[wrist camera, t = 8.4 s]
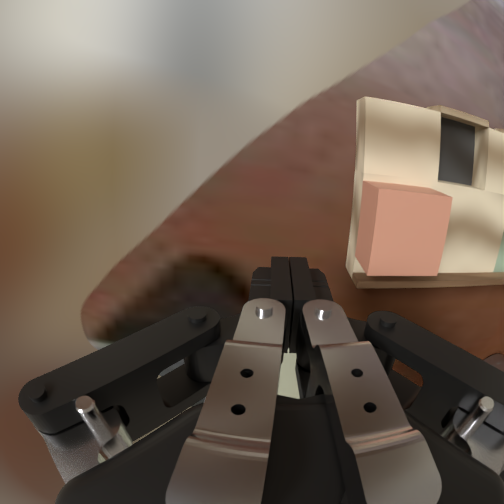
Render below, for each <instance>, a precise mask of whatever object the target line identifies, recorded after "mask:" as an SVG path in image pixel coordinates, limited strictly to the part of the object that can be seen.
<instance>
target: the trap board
mask: <svg viewBox="0 0 504 504" xmlns="http://www.w3.org/2000/svg"><path fill="white" fill-rule="evenodd" d="M363 181H374V182H384V183H394V184H403V185H411V186H419V187H427V188H431V189H434V190H436V191H439V192H441V193H444V194H446V195H448V196H451V197H453V198H452V206H451V212H450V218H449V224H448V230H447V235H446V240H445V245H444V249H443V254H442V258H441V262H440V266H439V270H438V274H437V276H367V275H366V273H365V271H364V270H363V268H362V267H361V265H360V263H359V262H358V260H357V259H356V257H355V251H356V244H357V236H358V227H359V218H360V208H361V198H362V185H363ZM346 268H347V270H348V272H349V274H350V276H351V278H352V280H353V282H354V284H355V286H356V288H429V287H460V286H483V285H501V284H504V129H495V130H494V129H491V128H489V121H487V120H484V119H482V118H479V117H476V116H473V115H470V114H467V113H464V112H461V111H458V110H455V109H452V108H448V107H445V106H442V105H439V106H431V107H427V109H426V108H422V107H418V106H414V105H409V104H404V103H399V102H394V101H389V100H383V99H377V98H371V97H363V98H361V99H359V100H357V125H356V159H355V178H354V192H353V205H352V216H351V226H350V235H349V244H348V252H347V260H346Z"/></svg>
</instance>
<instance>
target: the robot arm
mask: <svg viewBox="0 0 504 504" xmlns="http://www.w3.org/2000/svg"><path fill="white" fill-rule="evenodd" d="M288 343H289V353H296V365H295V372H296V378H297V384H298V390H299V397H300V399H297V398H291V397H287V396H282V395H278V387H279V378H280V369H281V364H282V362H283V357H284V353H288ZM182 359H184V364H183V365H181V366H180V367H178V368H176V369H174V370H173V371H171V372H169V373H167V374H166V375H164V376H162V377H160V378H158V379H157V377H158V375H159V374H160V373H161V372H162V371H163V370H164V369H166V368H168V367H169V366H171V365H173V364H175V363H177V362H178V361H180V360H182ZM395 359H397V360H399V361H401V362H402V363H404V364H405V365H407V366H409V367H410V368H412V369H414V370H415V371H417V372H418V373H420V374H421V376H422V377H423V386H422V387H419V386H418V385H416V384H414V383H413V382H411V381H410V380H408V379H407V378H405V377H403V376H402V375H400V374H399V373H397V372H395V371H394V370H392V366H393V364H394V361H395ZM204 397H206V399H205V401H204V403H200V404H198V405H196V406H193V407H191V406H192V405H194V404H195V403H197V402H198V401H200V400H201V399H203V398H204ZM18 400H19V405H20V407H21V409H22V410H23V411H24V413H25V414H26V415H27V416H28V418H29V419H30V420H31V422H32V423H33V425H34V427H35V428H36V429H37V431H38V432H39V433H40V434H41V435H42V437H43V438H44V439H45V442H46V444H47V447H48V449H49V451H50V454H51V456H52V458H53V460H54V462H55V464H56V466H57V468H58V470H59V472H60V474H61V476H62V478H63V480H64V482H65V485H64V487H63V488H62V489H61V491H60V492H59V494H58V496H57V499H56V502H55V504H504V356H503V355H502V354H494V355H492V356H490V357H488V358H486V359H485V360H481V359H479V358H477V357H476V356H474V355H472V354H470V353H468V352H466V351H465V350H463V349H461V348H459V347H457V346H455V345H454V344H452V343H450V342H448V341H446V340H444V339H442V338H441V337H439V336H437V335H435V334H433V333H431V332H429V331H428V330H426V329H424V328H422V327H420V326H418V325H416V324H414V323H413V322H411V321H409V320H407V319H405V318H403V317H401V316H399V315H397V314H395V313H393V312H389V311H376V312H373V313H371V314H370V315H369V316H368V319H367V322H365V321H360V320H355V319H351V318H348V317H346V315H345V312H344V310H343V309H342V307H341V306H340V305H338V304H337V303H335V302H334V301H333V298H332V295H331V292H330V289H329V287H328V283H327V280H326V277H325V274H324V273H322V272H321V271H320V270H319V269H309V266H308V262H307V258H305V257H289V260H288V257H271V268H268V267H258V268H257V269H256V270H255V271H254V272H253V276H252V282H251V288H250V295H249V301H248V302H247V303H246V304H245V305H244V307H243V309H242V312H241V313H240V314H238V315H236V316H232V317H226V318H220V317H219V314H218V313H217V312H216V311H215V310H214V309H212V308H209V307H202V306H197V307H191V308H187V309H185V310H183V311H181V312H179V313H177V314H174V315H172V316H170V317H168V318H166V319H164V320H162V321H160V322H158V323H156V324H153V325H151V326H149V327H147V328H145V329H143V330H141V331H139V332H136V333H134V334H132V335H130V336H128V337H126V338H124V339H121V340H119V341H117V342H115V343H113V344H111V345H109V346H106V347H104V348H102V349H100V350H98V351H95V352H93V353H91V354H89V355H87V356H84V357H82V358H80V359H78V360H76V361H73V362H71V363H69V364H67V365H65V366H62V367H60V368H58V369H55V370H53V371H51V372H49V373H46V374H44V375H42V376H40V377H37V378H35V379H33V380H31V381H29V382H28V383H26V385H24V387H23V388H22V389H21V391H20V393H19V398H18ZM189 407H191V408H189ZM187 408H189V409H187ZM186 409H187V410H186ZM184 410H185V411H184ZM183 411H184V412H183ZM181 412H182V413H181ZM180 413H181V414H180ZM178 414H179V415H178ZM176 415H178V416H176ZM175 416H176V417H175ZM173 417H175V418H173ZM172 418H173V419H172ZM170 419H172V420H170ZM168 420H170V421H169V422H167V421H168ZM165 422H167V423H166V424H165V425H163V426H161V427H160V428H158V429H157V430H155V431H154V432H152V433H150V434H149V435H147V436H146V437H144V438H143V439H141V440H139V441H138V442H136V443H134V444H133V445H132V442H133V441H135V440H136V439H138V438H140V437H142V436H143V435H145V434H147V433H149V432H150V431H152V430H154V429H155V428H157V427H159V426H160V425H162V424H163V423H165Z"/></svg>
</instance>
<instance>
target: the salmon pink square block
mask: <svg viewBox="0 0 504 504" xmlns="http://www.w3.org/2000/svg"><path fill="white" fill-rule="evenodd" d="M452 198H453V197H451V196H448V195H446V194H444V193H441V192H439V191H436V190H434V189H431V188H427V187H419V186H411V185H403V184H394V183H384V182H374V181H363V185H362V198H361V208H360V218H359V227H358V236H357V244H356V251H355V257H356V259H357V260H358V262H359V263H360V265H361V267H362V268H363V270H364V271H365V273H366V275H367V276H437V274H438V270H439V266H440V262H441V258H442V254H443V249H444V245H445V240H446V235H447V230H448V224H449V218H450V212H451V206H452Z"/></svg>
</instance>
